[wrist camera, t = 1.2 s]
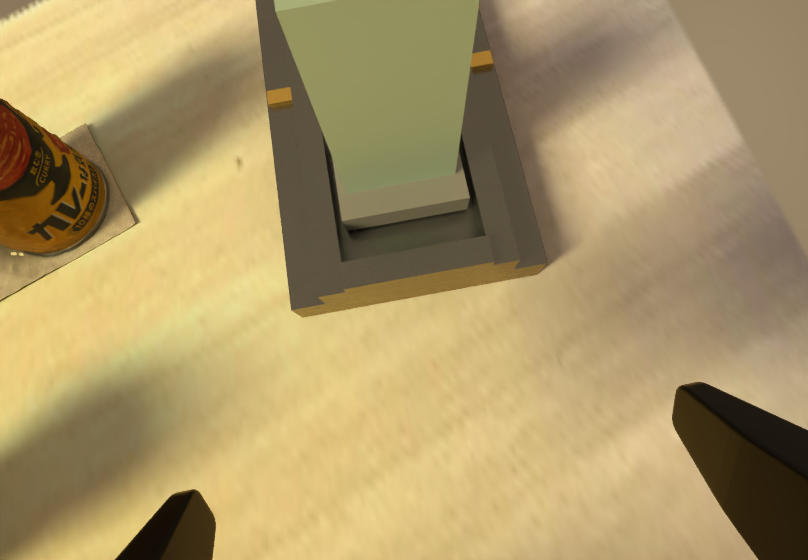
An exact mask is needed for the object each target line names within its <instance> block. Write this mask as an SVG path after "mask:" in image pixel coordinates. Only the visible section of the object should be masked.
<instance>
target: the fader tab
mask: <svg viewBox="0 0 808 560" xmlns="http://www.w3.org/2000/svg"><path fill="white" fill-rule="evenodd" d="M479 1H480V0H274V4H275V12H276V14H277V17H278V19H279V22H280V24H281V27H282V30H283V32H284V35H285V37H286V40H287V42H288V45H289V48H290V50H291V53H292V55H293V58H294V60H295V63H296V65H297V68H298V71H299V73H300V76H301V78H302V81H303V83H304V86H305V89H306V91H307V94H308V96H309V99H310V101H311V104H312V106H313V109H314V112H315V114H316V117H317V119H318V122H319V124H320V127H321V130H322V132H323V135H324V137H325V140H326V142H327V145H328V147H329V150H330V153H331V155H332V160H333V166H334V173H335V179H336V186H337V192H338V199H339V205H340V212H341V219H342V222H343V224H344V227H345V229H346V231H351V230H357V229H362V228H367V227H373V226H378V225H384V224H389V223H395V222H400V221H406V220H411V219H417V218H422V217H427V216H433V215H438V214H444V213H449V212H455V211H460V210H466V209H467V208H468V203H469V199H470V196H469V192H468V188H467V183H466V179H465V175H464V171H463V166H462V162H461V158H460V153H459V144H460V137H461V130H462V123H463V115H464V108H465V101H466V94H467V87H468V80H469V73H470V65H471V58H472V51H473V44H474V37H475V30H476V23H477V15H478V8H479Z"/></svg>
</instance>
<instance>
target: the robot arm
mask: <svg viewBox="0 0 808 560" xmlns="http://www.w3.org/2000/svg"><path fill="white" fill-rule="evenodd" d="M672 421H673V425H674V428H675V430H676V432H677V434H678V435H679V437H680V439H681V440H682V442H683V444H684V446H685V447H686V449H687V451H688V452H689V454H690V456H691V457H692V459H693V461H694V463H695V464H696V466H697V468H698V469H699V471H700V473H701V474H702V476H703V478H704V480H705V481H706V483H707V485H708V486H709V488H710V490H711V491H712V493H713V495H714V496H715V498H716V500H717V501H718V503H719V504H720V506H721V508H722V509H723V511H724V512H725V514H726V515H727V516H728V518H729V519H730V521H731V522H732V524H733V525H734V526H735V528H736V529H737V531H738V532H739V533H740V535H741V536H742V537H743V539H744V540H745V542H746V543H747V544H748V546H749V547H750V548H751V550H752V551H753V553H754V554H755V555H756V557H757V558H758V560H808V430H806V429H804V428H802V427H799V426H797V425H795V424H793V423H791V422H789V421H786V420H784V419H782V418H780V417H778V416H776V415H773V414H771V413H769V412H767V411H765V410H763V409H760V408H758V407H756V406H754V405H752V404H750V403H747V402H745V401H743V400H741V399H739V398H737V397H734V396H732V395H730V394H728V393H726V392H723V391H721V390H719V389H717V388H715V387H713V386H710V385H708V384H706V383H703V382H695V383H690V384H685V385H681V386H679V387H678V388H677V390H676V394H675V400H674V407H673V414H672ZM215 531H216V522H215V518H214V515H213V513H212V511H211V510H210V508H209V507H208V505H207V503H206V502H205V500H204V499H203V497H202V495H201V494H200V492H199V491H197V490H195V489H192V490H187V491H182V492H178V493H175V494H173V495H172V496H170V497H169V498H168V499H167V500H166V502H165V503H164V504H163V505H162V506H161V507H160V508H159V510H158V511H157V512H156V513H155V514H154V515H153V517H152V518H151V519H150V520H149V521H148V522H147V523H146V525H145V526H144V527H143V528H142V529H141V530H140V531H139V533H138V534H137V535H136V536H135V537H134V538H133V539H132V541H131V542H130V543H129V544H128V545H127V546H126V548H125V549H124V550H123V551H122V552H121V553H120V554H119V556H118V557H117V558H116V559H115V560H212V558H213V549H214V540H215Z"/></svg>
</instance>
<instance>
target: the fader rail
mask: <svg viewBox="0 0 808 560" xmlns="http://www.w3.org/2000/svg"><path fill="white" fill-rule="evenodd" d="M256 9H257V18H258V26H259V35H260V43H261V52H262V61H263V69H264V78H265V87H266V95H267V104H268V113H269V121H270V130H271V139H272V147H273V156H274V165H275V173H276V182H277V190H278V199H279V208H280V216H281V225H282V234H283V242H284V251H285V260H286V268H287V277H288V286H289V294H290V303H291V310H292V311H293V312H295V313H296V314H298V315H300V316H301V317H308V316H313V315H319V314H324V313H330V312H335V311H341V310H346V309H352V308H357V307H363V306H368V305H373V304H379V303H384V302H390V301H395V300H401V299H406V298H412V297H417V296H422V295H428V294H433V293H439V292H444V291H450V290H455V289H461V288H466V287H471V286H477V285H482V284H488V283H493V282H499V281H504V280H510V279H515V278H520V277H526V276H531V275H537V274H538V273H539V272H540V271H541V270H542V269H543V268H544V267H545V266H546V265H547V264H548V262H547V258H546V255H545V251H544V247H543V244H542V240H541V236H540V233H539V229H538V225H537V221H536V218H535V214H534V210H533V207H532V203H531V199H530V196H529V192H528V188H527V185H526V181H525V177H524V173H523V170H522V166H521V162H520V159H519V155H518V151H517V148H516V144H515V140H514V136H513V133H512V129H511V125H510V122H509V118H508V114H507V111H506V107H505V103H504V100H503V96H502V92H501V88H500V85H499V81H498V77H497V74H496V70H495V66H494V63H493V59H492V55H491V51H490V48H489V44H488V40H487V37H486V33H485V29H484V26H483V22H482V18H481V15H480V11H479V8H478V15H477V23H476V30H475V37H474V44H473V51H472V58H471V65H470V73H469V80H468V87H467V94H466V101H465V108H464V115H463V123H462V130H461V137H460V144H459V153H460V158H461V162H462V166H463V171H464V175H465V179H466V183H467V188H468V192H469V196H470V199H469V203H468V208H467V209H466V210H460V211H455V212H449V213H444V214H438V215H433V216H427V217H422V218H417V219H411V220H406V221H400V222H395V223H389V224H384V225H378V226H373V227H367V228H362V229H357V230H351V231H346V229H345V227H344V224H343V222H342V219H341V212H340V205H339V199H338V192H337V186H336V179H335V173H334V166H333V160H332V155H331V153H330V150H329V147H328V145H327V142H326V140H325V137H324V135H323V132H322V130H321V127H320V124H319V122H318V119H317V117H316V114H315V112H314V109H313V106H312V104H311V101H310V99H309V96H308V94H307V91H306V89H305V86H304V83H303V81H302V78H301V76H300V73H299V71H298V68H297V65H296V63H295V60H294V58H293V55H292V53H291V50H290V48H289V45H288V42H287V40H286V37H285V35H284V32H283V30H282V27H281V24H280V22H279V19H278V17H277V14H276V12H275V4H274V0H256Z"/></svg>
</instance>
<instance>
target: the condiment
mask: <svg viewBox="0 0 808 560" xmlns="http://www.w3.org/2000/svg"><path fill="white" fill-rule="evenodd" d="M133 224H135V220H134V218H133V216H132V214H131V212H130V210H129V208H128V206H127V204H126V202H125V200H124V198H123V195H122V193H121V191H120V189H119V187H118V185H117V183H116V181H115V179H114V177H113V175H112V173H111V171H110V170H109V168H108V165H107V164H106V162H105V160H104V158H103V156H102V154H101V152H100V150H99V148H98V146H97V145H96V144H95V141H94V139H93V137H92V135H91V133H90V131H89V129H88V127H87V125H86V124H84V125H82V126H80V127H78V128H76V129H75V130H73V131H71V132H69V133H68V134H66V135H64V136H63V137H61V138H59V137H58V136H56V135H55V134H51V133H49V132H48V131H47V130H46V129H44V128H43V127H41V126H39V125H38V124H37V123H36V122H35V121H33V120H32V119H31V118H29V117H27V116H26V115H24V114H23V113H22V112H20V111H19V110H17V109H15V108H14V107H12V106H11V105H10V104H9V103H8V102H7V101H5V100H3V99H0V300H1V299H3V298H5V297H6V296H8V295H11V294H13V293H15V292H16V291H18V290H20V289H21V288H22V287H24V286H25V285H28V284H30V283H32V282H33V281H35V280H37V279H39V278H40V277H42V276H43V275H45V274H48V273H50V272H51V271H53V270H55V269H57V268H59V267H61V266H63V265H65V264H67V263H69V262H71V261H73V260H74V259H76V258H78V257H79V256H81V255H83V254H85V253H86V252H88V251H90V250H92V249H94V248H95V247H97V246H99V245H101V244H103V243H105V242H106V241H108V240H109V239H111V238H112V237H114V236H116V235H119V234H120V233H122V232H124V231H125V230H127V229H128V228H130V227H131V226H133ZM11 252H16V253H17V255H15V256H14V255H11V254H10V253H11ZM20 252H22V253H24V256H19V255H18V254H19V253H20Z"/></svg>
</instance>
